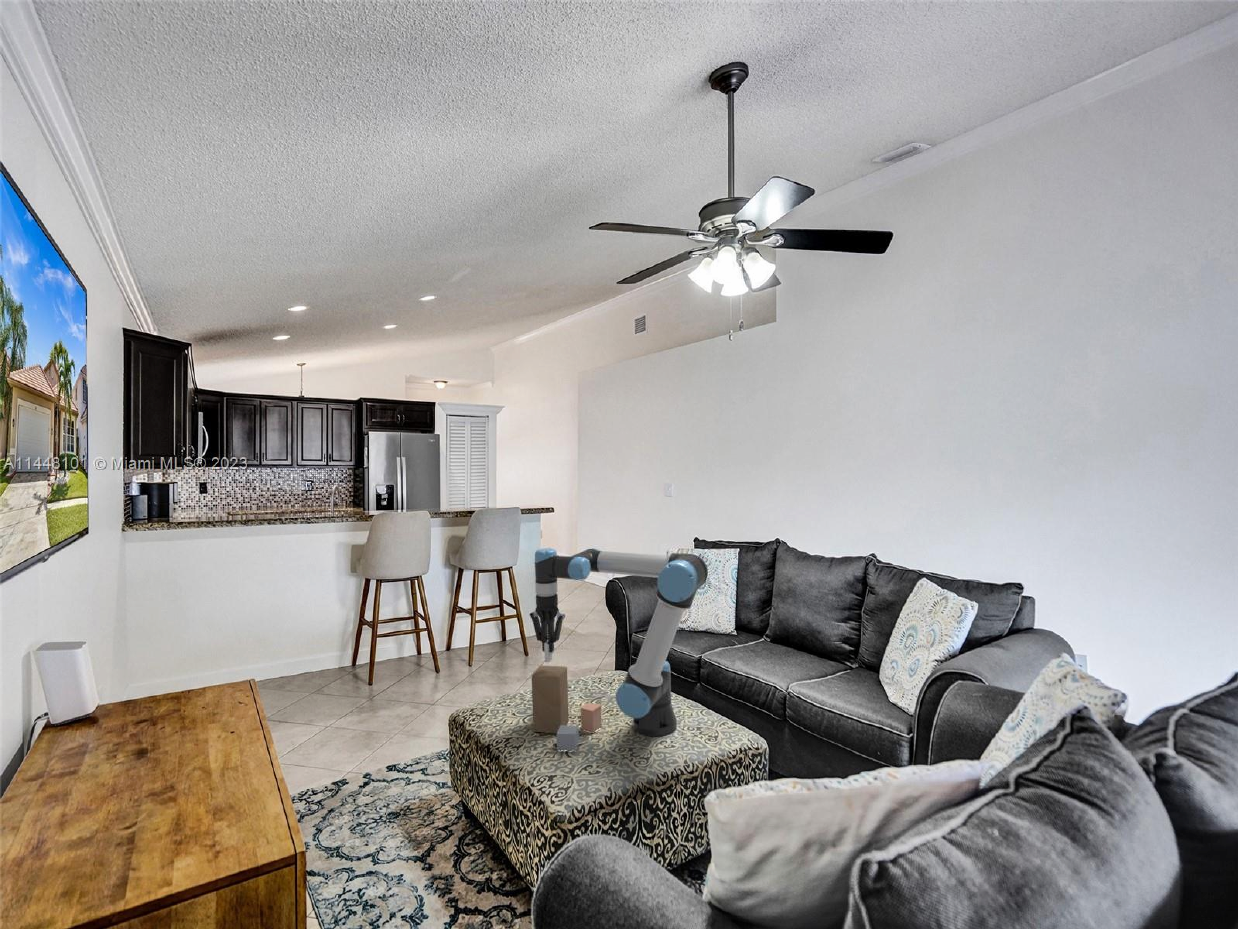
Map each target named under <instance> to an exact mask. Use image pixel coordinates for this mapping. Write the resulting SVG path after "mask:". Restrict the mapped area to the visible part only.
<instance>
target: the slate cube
mask: <svg viewBox="0 0 1238 929" xmlns="http://www.w3.org/2000/svg"><path fill="white" fill-rule="evenodd" d="M579 734H580V732H579V725H572V724H571V725H570V724H569V725H568V724H567V725H560V727H559V730H558V732H557V734H556V750H560V751H561V750H570V751H572V750H574V751H575V750H576V748H577V749H578V747H579V745H578V743H579V744H580V735H579ZM577 746H578V747H577ZM576 751H577V750H576Z"/></svg>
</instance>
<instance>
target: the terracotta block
mask: <svg viewBox="0 0 1238 929" xmlns="http://www.w3.org/2000/svg"><path fill="white" fill-rule="evenodd" d="M580 723H581V724H580V725H581V726H580V728H581V729H582V730H585V731H589V732H595V731H596V730H597V729H599V728H601V727H602V726H603V725H602V705H600V704H597V703H592V702H588V703H586V704H584V705H583V706H581V707H580ZM601 729H602V728H601Z"/></svg>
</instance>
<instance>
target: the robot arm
mask: <svg viewBox="0 0 1238 929" xmlns="http://www.w3.org/2000/svg"><path fill="white" fill-rule="evenodd" d="M533 564H534V574H535V582H534V584H535V586H534V587H535V594H536V595H535V605H536V606H535V609H534V611H532V612H530V613H529V617H530V618H531V621H532V624H533V629H534V632H535V637H536V640H537V641H538V642H539V641H540V642H541V644H542V648H541V649H542V652H543V653H544V662H545V663H548V664H549V663H550V662H552V661H553V652H554V651H555V643H556V642H558V641H559V639H560V636H561V630H562V625H563V620H564V619H565V618H566V614H565V613H564V614H563V613H562V612H560V609H559V607H558V604H559V602H558V601H559V596H558V579H563V580H564V579H566V580H574V581H581V580H582V581H583V580H586V579H587V578H589V577H588V576H590V574H591V573H592V572H593V573H603V574H604V573H605V574H614V575H626V576H636V577H649V578H657V589H656V591H655V592H656V593H655V595H656V597H657V600H658V601H657V604H656V606H655V609H654V612H653V615H652V618H651V621H650V624H649V626H648V628H647V632H646V634H645V638H644V640H643V643H642V645H641V648H640V651H639V653H638V656H637V659H636V662H635V663H634V664H632V665H630V666H629V668H628V670H627V673H626V676H625V678H624V681H623V683H622V684H621V685H620V686H619V687H618V689H617V691H616V693H615V702H616V705H617V707H618V708H619V710H620V711H621V712H622V713H623V714H624V715H626V716H627V717H629V718H632V728H633V729H634V731H636V732H637V733H638V734H641V735H644V736H648V737H661V736H662V737H663V736H667V735H669V734H671V733H673V732H675V731H676V730H677V727H678V724H677V723H678V721H677V716H676V714H675V711H674V708H673V705H672V685H671V684H672V683H671V682H672V679H671V678H672V677H671V673H672V672H671V665H670V663H669V661H667V659H668V658H667V657H668V655H669V653H670V650H671V647H672V644H673V642H674V640H675V639H674V638H675V636H676V634H677V630H678V628H679V626H680V622H681V620H682V617H683V614H684V613H685V612H684V611H687V610H690V608H691V607H692V605H693V601H694V600H695V596H696V594H697V592H698V590H699V589H700V588H701V587H703V586H704V585H705V584H706V581H707V580H708V576H709V570H708V566H707V563H706V562H705V560H704V559H703V558H701V557H700V555H699V556H698V555H697V554H693V553H677V552H676V553H675V552H672V553H670V554H669V555H659V554H648V553H636V552H635V553H632V552H619V551H617V552H616V551H604V550H600V549H599V548H594V547H593V548H587V549H585V550H583V551H580V552H578V553H576V554H573V555H570V556H569V555H568V556H566V555H565V556H563V555H558V553H557V550H556V549H555V548H550V547H547V548H546V547H545V548H539V549H536V551H535V553H534V562H533ZM555 620H556V621H555ZM555 622H556V623H555Z"/></svg>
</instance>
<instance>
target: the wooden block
mask: <svg viewBox="0 0 1238 929" xmlns="http://www.w3.org/2000/svg"><path fill="white" fill-rule="evenodd" d="M568 690H569V688H568V667H567V666H562V665H561V666H556V665H540V666H539V667H538V668H537V669H536V670H535V671H534V672H533V674H532V675H531V701H532V724H533V726H532V728H533V733H535V732H545V733H544V734H549V733H557V732H558V730H559V727H560V725H568V723H569V721H570V720H569V718H570V714H569V691H568Z"/></svg>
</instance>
